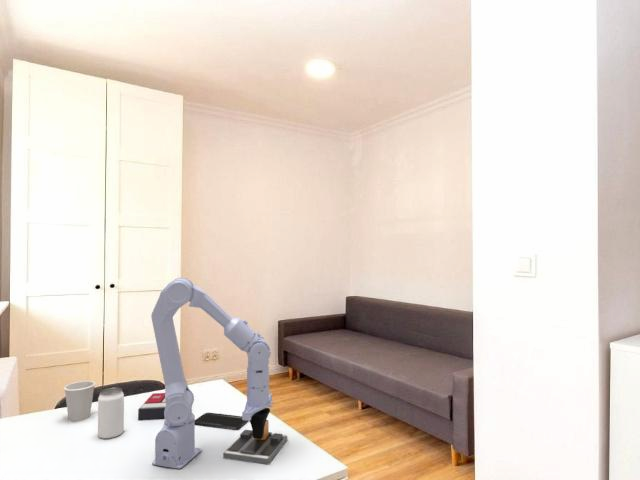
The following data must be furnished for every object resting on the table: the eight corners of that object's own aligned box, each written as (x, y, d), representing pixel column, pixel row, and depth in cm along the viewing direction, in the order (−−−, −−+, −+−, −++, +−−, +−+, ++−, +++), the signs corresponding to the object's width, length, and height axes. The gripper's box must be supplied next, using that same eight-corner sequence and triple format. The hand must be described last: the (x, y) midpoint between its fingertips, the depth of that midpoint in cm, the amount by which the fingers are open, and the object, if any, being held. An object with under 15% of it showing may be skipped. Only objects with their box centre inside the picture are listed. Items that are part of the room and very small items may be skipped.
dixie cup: (84, 423, 122) (85, 389, 122) (57, 423, 122) (57, 389, 122) (100, 412, 130) (100, 380, 131) (74, 412, 131) (74, 380, 131)
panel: (268, 464, 98) (268, 454, 98) (223, 458, 101) (223, 448, 101) (287, 440, 111) (287, 431, 111) (246, 435, 114) (246, 426, 114)
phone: (206, 412, 128) (250, 417, 124) (206, 415, 128) (250, 421, 124) (191, 422, 121) (237, 428, 117) (191, 426, 121) (237, 432, 117)
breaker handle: (264, 440, 107) (264, 424, 107) (254, 439, 108) (254, 423, 108) (268, 435, 110) (268, 419, 110) (259, 434, 111) (259, 418, 111)
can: (113, 440, 111) (113, 395, 111) (92, 438, 112) (92, 394, 113) (128, 430, 117) (129, 387, 118) (108, 428, 119) (109, 386, 119)
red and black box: (185, 390, 140) (175, 404, 126) (185, 403, 140) (175, 419, 125) (151, 392, 139) (137, 406, 124) (151, 405, 139) (137, 421, 124)
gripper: (261, 395, 99) (261, 452, 99) (282, 377, 113) (282, 427, 113) (234, 393, 101) (234, 449, 101) (258, 376, 115) (258, 425, 115)
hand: (258, 437), depth 107 cm, fingers closed
